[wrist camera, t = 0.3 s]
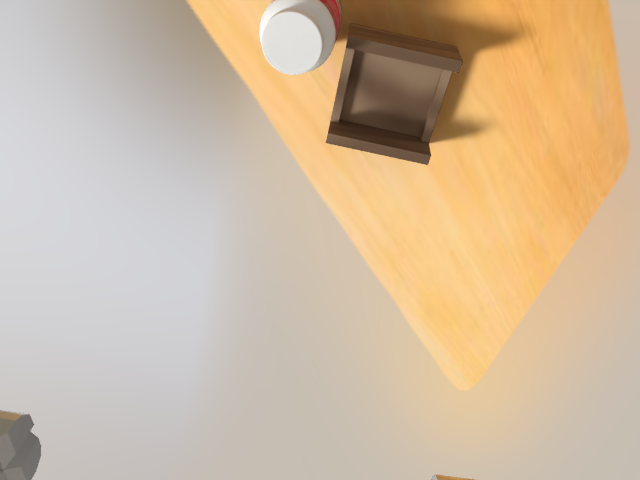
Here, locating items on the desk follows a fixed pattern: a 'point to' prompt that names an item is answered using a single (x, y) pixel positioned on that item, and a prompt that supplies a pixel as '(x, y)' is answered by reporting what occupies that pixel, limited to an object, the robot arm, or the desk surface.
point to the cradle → (390, 93)
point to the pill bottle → (299, 33)
